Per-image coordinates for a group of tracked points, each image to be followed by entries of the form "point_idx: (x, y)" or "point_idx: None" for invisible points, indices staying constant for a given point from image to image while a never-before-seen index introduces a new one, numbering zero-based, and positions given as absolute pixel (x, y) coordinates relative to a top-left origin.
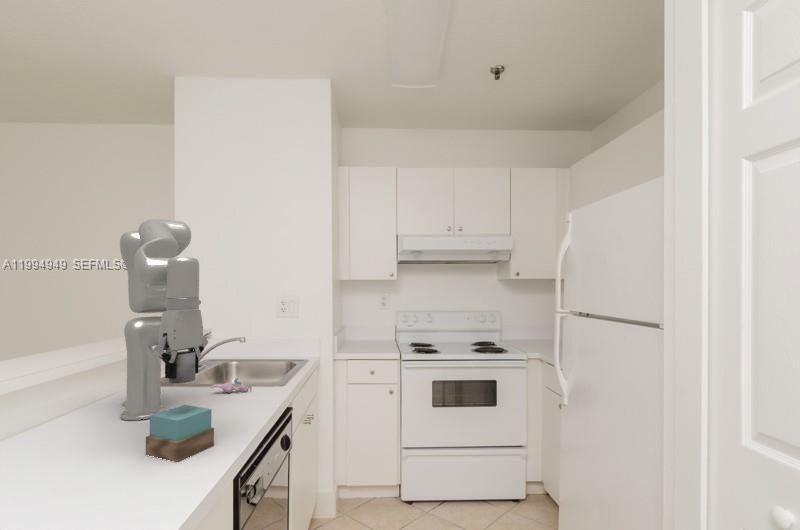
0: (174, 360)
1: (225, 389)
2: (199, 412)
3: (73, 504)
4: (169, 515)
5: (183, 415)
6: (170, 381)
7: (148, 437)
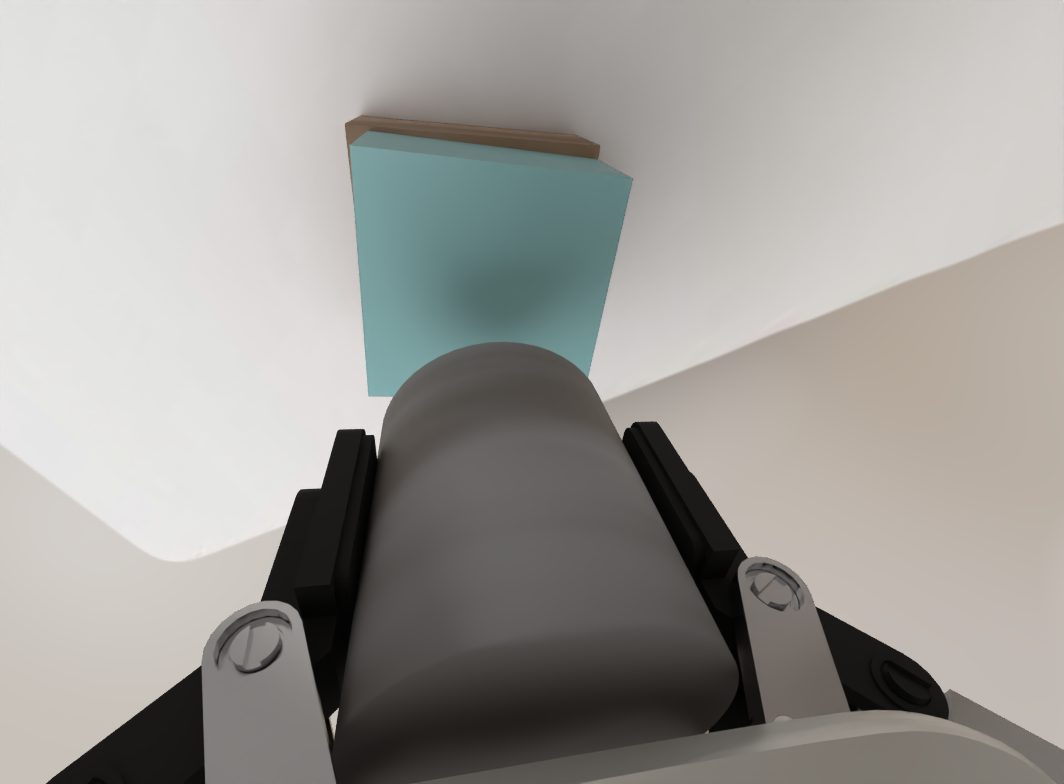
0: (328, 719)
1: None
2: None
3: None
4: (166, 535)
5: None
6: (381, 433)
7: (348, 147)
